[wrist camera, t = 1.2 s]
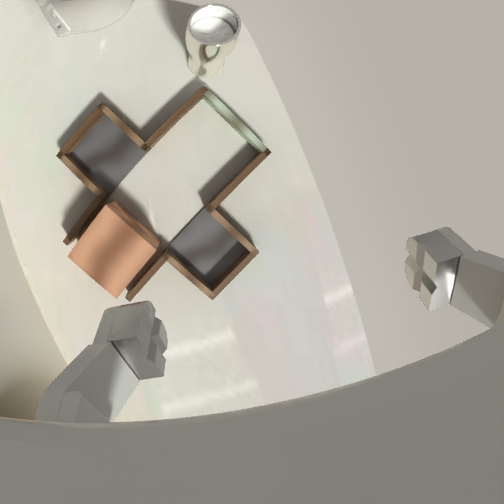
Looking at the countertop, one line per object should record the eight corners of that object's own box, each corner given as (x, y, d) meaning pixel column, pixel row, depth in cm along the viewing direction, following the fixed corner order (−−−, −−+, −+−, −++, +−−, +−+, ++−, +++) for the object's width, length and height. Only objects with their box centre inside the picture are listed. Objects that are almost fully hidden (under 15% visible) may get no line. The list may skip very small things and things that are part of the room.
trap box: (31, 199, 44) (23, 201, 42) (161, 53, 43) (160, 46, 40) (175, 329, 55) (175, 337, 53) (306, 195, 54) (312, 197, 51)
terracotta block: (81, 245, 49) (67, 256, 42) (115, 200, 48) (105, 204, 42) (124, 283, 52) (116, 298, 45) (160, 240, 51) (156, 250, 45)
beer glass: (190, 84, 46) (192, 52, 32) (181, 48, 44) (180, 7, 30) (231, 75, 47) (248, 41, 32) (221, 40, 45) (235, -2, 30)
